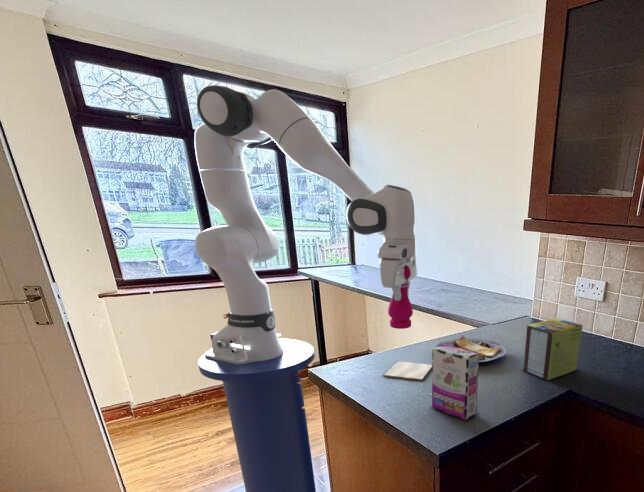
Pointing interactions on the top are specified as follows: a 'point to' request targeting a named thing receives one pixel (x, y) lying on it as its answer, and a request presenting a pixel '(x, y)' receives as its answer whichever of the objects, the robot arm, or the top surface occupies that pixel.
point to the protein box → (552, 348)
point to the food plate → (478, 347)
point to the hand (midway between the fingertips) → (401, 298)
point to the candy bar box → (455, 381)
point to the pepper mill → (401, 306)
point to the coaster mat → (408, 370)
